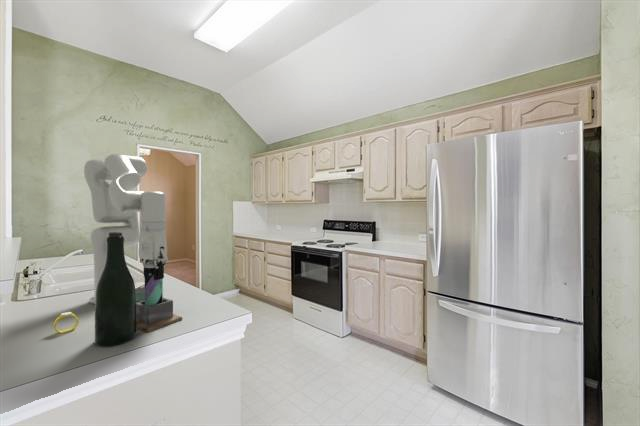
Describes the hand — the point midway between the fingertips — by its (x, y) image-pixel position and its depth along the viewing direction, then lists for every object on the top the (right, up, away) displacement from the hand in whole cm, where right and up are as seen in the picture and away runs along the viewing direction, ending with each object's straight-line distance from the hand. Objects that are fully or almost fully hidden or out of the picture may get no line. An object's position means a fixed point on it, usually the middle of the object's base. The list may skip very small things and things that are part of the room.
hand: (153, 277), depth 100 cm
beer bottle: (-4, -16, -13) cm, 21 cm away
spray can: (0, -13, 0) cm, 13 cm away
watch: (-24, -16, -8) cm, 30 cm away
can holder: (0, -16, 0) cm, 16 cm away
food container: (-8, -15, +11) cm, 21 cm away
